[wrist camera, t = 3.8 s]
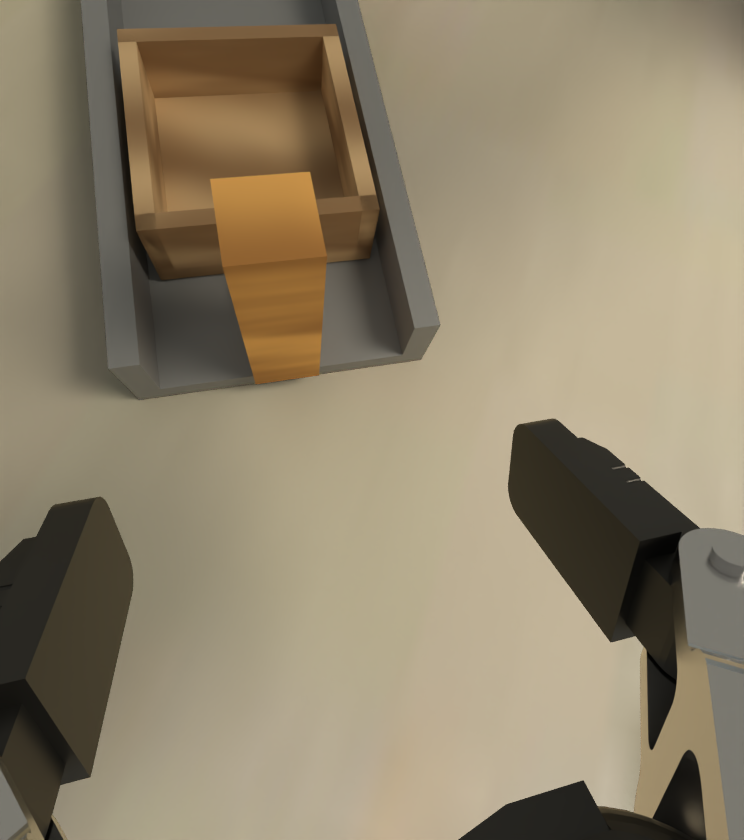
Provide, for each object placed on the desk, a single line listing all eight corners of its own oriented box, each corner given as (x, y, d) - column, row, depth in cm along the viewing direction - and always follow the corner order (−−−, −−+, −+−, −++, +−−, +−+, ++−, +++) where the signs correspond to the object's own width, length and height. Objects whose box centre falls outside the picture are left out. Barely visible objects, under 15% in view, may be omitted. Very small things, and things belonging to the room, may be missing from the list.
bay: (99, -54, 31) (66, -152, 27) (322, -54, 34) (324, -143, 29) (139, 399, 24) (103, 364, 20) (421, 359, 26) (443, 319, 22)
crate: (141, 100, 27) (55, -143, 18) (332, 91, 29) (344, -134, 20) (173, 396, 23) (82, 281, 14) (393, 364, 25) (446, 244, 15)
